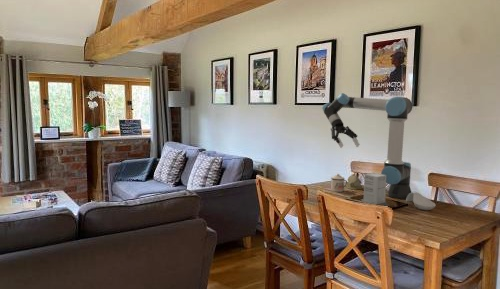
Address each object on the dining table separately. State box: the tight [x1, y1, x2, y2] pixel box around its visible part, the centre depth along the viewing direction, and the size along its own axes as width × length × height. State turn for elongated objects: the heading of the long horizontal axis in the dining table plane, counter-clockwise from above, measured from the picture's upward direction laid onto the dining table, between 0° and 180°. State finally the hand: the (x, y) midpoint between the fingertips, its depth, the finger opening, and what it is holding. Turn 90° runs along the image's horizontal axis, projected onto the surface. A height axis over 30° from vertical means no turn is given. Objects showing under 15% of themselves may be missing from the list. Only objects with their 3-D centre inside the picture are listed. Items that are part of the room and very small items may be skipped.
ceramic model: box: [346, 173, 363, 190], centre depth 276 cm, size 14×11×10 cm
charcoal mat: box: [360, 198, 390, 207], centre depth 230 cm, size 13×13×1 cm
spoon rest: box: [405, 191, 437, 211], centre depth 226 cm, size 24×12×7 cm, turn 4°
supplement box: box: [363, 172, 387, 204], centre depth 229 cm, size 10×9×17 cm
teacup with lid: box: [330, 173, 348, 193], centre depth 265 cm, size 12×9×12 cm
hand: (350, 146), depth 247 cm, fingers open, 13 cm apart
